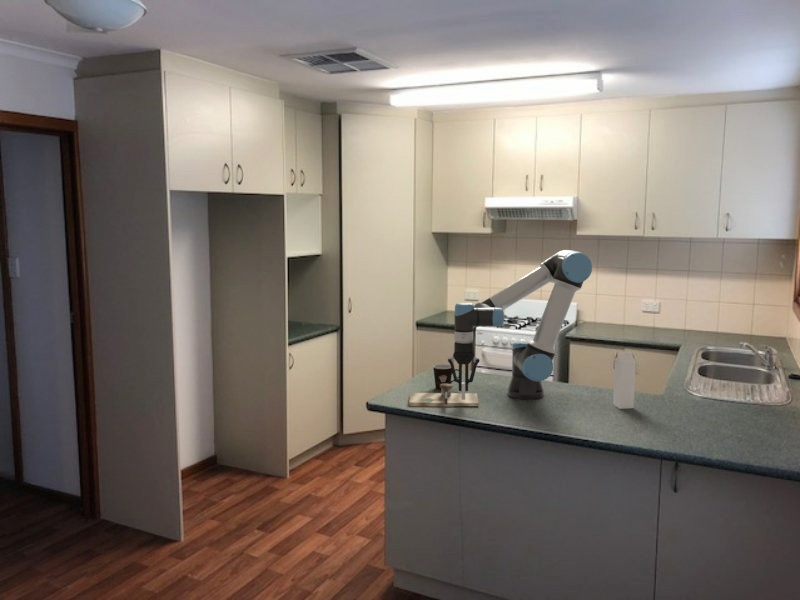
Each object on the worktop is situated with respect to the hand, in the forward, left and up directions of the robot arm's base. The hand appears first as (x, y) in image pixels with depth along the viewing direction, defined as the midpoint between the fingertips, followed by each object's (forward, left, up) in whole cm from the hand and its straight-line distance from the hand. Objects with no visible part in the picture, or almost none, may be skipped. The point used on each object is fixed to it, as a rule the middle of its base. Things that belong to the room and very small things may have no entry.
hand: (463, 398), depth 263 cm
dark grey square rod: (+7, -3, -1) cm, 8 cm away
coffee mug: (+7, -25, -3) cm, 26 cm away
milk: (-64, -2, -3) cm, 64 cm away
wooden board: (+8, -6, -3) cm, 10 cm away
